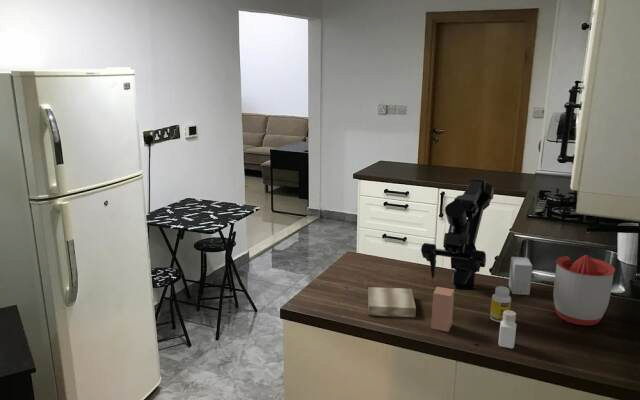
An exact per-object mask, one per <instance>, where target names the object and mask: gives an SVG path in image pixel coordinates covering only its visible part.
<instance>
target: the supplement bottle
mask: <svg viewBox="0 0 640 400" xmlns="http://www.w3.org/2000/svg"><path fill="white" fill-rule="evenodd" d="M494 292H495V293H494V294H492V296H491V302H490V303H491V304H490V311H489V312H490V314H489V318H490V320H492V321H494V322H496V323H499V324H501V321H503V312H504V311H506V310H510V311H511V305H512V297H511V295H510V293H511V289H510V287H506V286H503V285H502V286H501V285H500V286H496V287H495V291H494Z"/></svg>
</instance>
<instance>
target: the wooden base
mask: <svg viewBox="0 0 640 400" xmlns="http://www.w3.org/2000/svg"><path fill="white" fill-rule="evenodd" d="M415 302H416V301H415V298H414V294H413V290H412V288H401V287H398V288H397V287H373V286H371V287H370V286H368V288H367V305H368V316H377V317H378V316H379V317H401V318H403V317H405V318H416V314H417V313H416V312H417V311H416V310H417V307H416V303H415Z"/></svg>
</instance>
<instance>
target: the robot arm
mask: <svg viewBox="0 0 640 400" xmlns="http://www.w3.org/2000/svg"><path fill="white" fill-rule="evenodd" d="M494 193H495V191H494V188H493V185H491V184H490V183H487V181H486V180H485V179H482V178H471V179H469V183H468V186H467V187H466V189H465V190H464V192H463V194H460V195H457V196H456V197H455V198H454V199H453V200H452V201H451V202H449V203H447V205H446V206H445V208H444V213H445V216H446V219H447V222H448V225H449V228H448V230H447V232H444V235H443V236H444V237H443V247H442V248H444V249H441V248H437V245H436V244H435V243H427V242H424V243H423V244H422V245H421V248H420V251H421V255H422V258H424V259H425V260H426V261H427V262H429V265H430V272H431V273H430V274H431V279H434V278H435V275H436V274H435V273H436V265H437V256H440V257H446V258H450V269H451V270H452V269H454V270H453V271H452V279H451V282H452V285H453V286H454V289H458V290H460V289H461V290H475V289H476V287H475V285H474V284H475V276H476V273H479V272H481V271H480V269H481V268H485V267H486V264H487V254H486V252H485V251H483V250H478V249H477V247H476V241H477V238H478V233H479V230H480V226H481V222H482V221H481V220H482V217H483V213H484V210H486V209H487V208H488V207H489V206H490V205H491V201H492V200H493V199H494V195H495V194H494Z"/></svg>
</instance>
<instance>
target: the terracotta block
mask: <svg viewBox="0 0 640 400" xmlns="http://www.w3.org/2000/svg"><path fill="white" fill-rule="evenodd" d="M454 299H455V288H454V289H453V288H446V287H443V286H442V287H441V286H436V287H435V290H434V291H433V293H432V305H431V306H432V307H431V322H430V325H431V326H430V329H433V330H437V331H441V332H442V331H443V332H447V333H449V332H450V329H451V327H452V324H453V313H454V312H453V310H454Z"/></svg>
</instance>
